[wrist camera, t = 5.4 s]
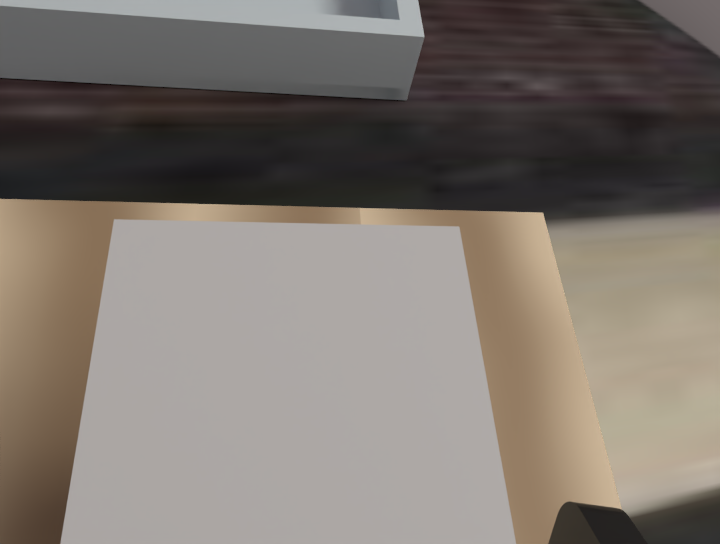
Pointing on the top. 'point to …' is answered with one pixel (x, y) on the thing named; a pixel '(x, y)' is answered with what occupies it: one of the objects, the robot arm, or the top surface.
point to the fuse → (286, 390)
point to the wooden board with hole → (478, 228)
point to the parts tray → (217, 44)
